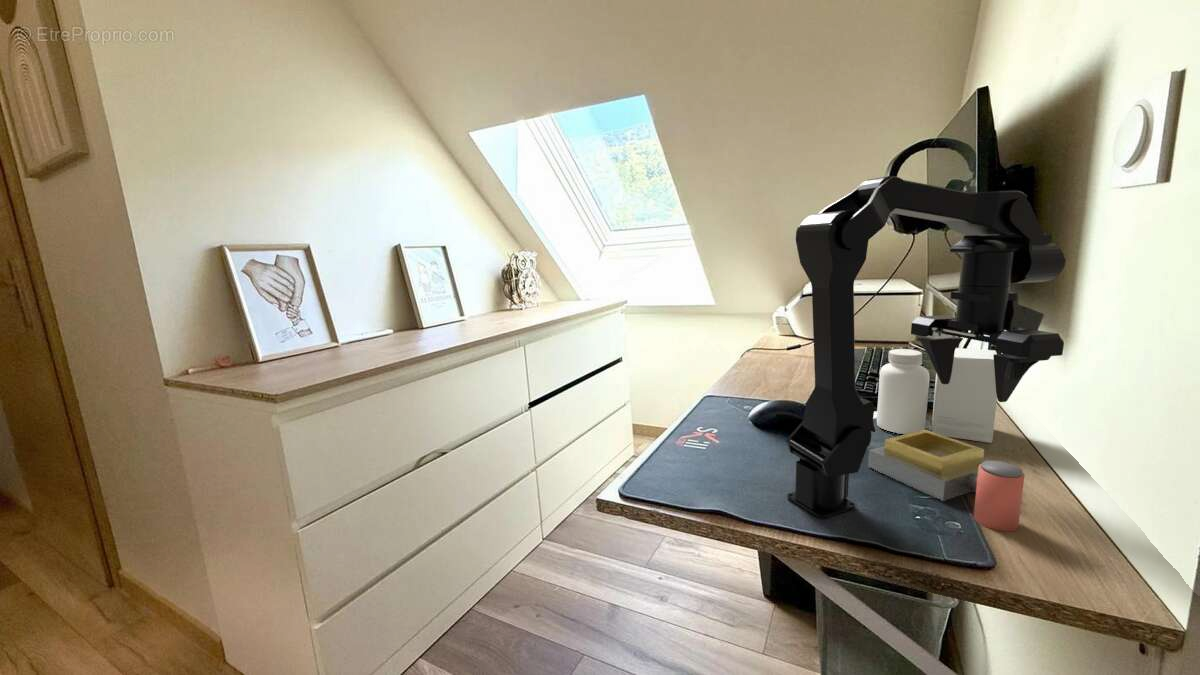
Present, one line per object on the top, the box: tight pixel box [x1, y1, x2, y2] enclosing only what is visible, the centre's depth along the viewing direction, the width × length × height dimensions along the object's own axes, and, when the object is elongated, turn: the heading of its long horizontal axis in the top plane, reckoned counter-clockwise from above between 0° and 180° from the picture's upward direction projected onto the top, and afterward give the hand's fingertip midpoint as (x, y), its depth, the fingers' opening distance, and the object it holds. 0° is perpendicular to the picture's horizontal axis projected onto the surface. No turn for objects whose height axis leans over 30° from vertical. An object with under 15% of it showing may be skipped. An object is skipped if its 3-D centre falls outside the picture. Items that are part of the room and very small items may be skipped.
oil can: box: [973, 460, 1025, 533], centre depth 63 cm, size 4×4×7 cm
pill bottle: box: [876, 348, 931, 434], centre depth 93 cm, size 8×8×15 cm
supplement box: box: [931, 347, 998, 444], centre depth 91 cm, size 9×9×15 cm
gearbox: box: [867, 429, 992, 502], centre depth 75 cm, size 12×15×5 cm
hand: (971, 392), depth 73 cm, fingers open, 9 cm apart
